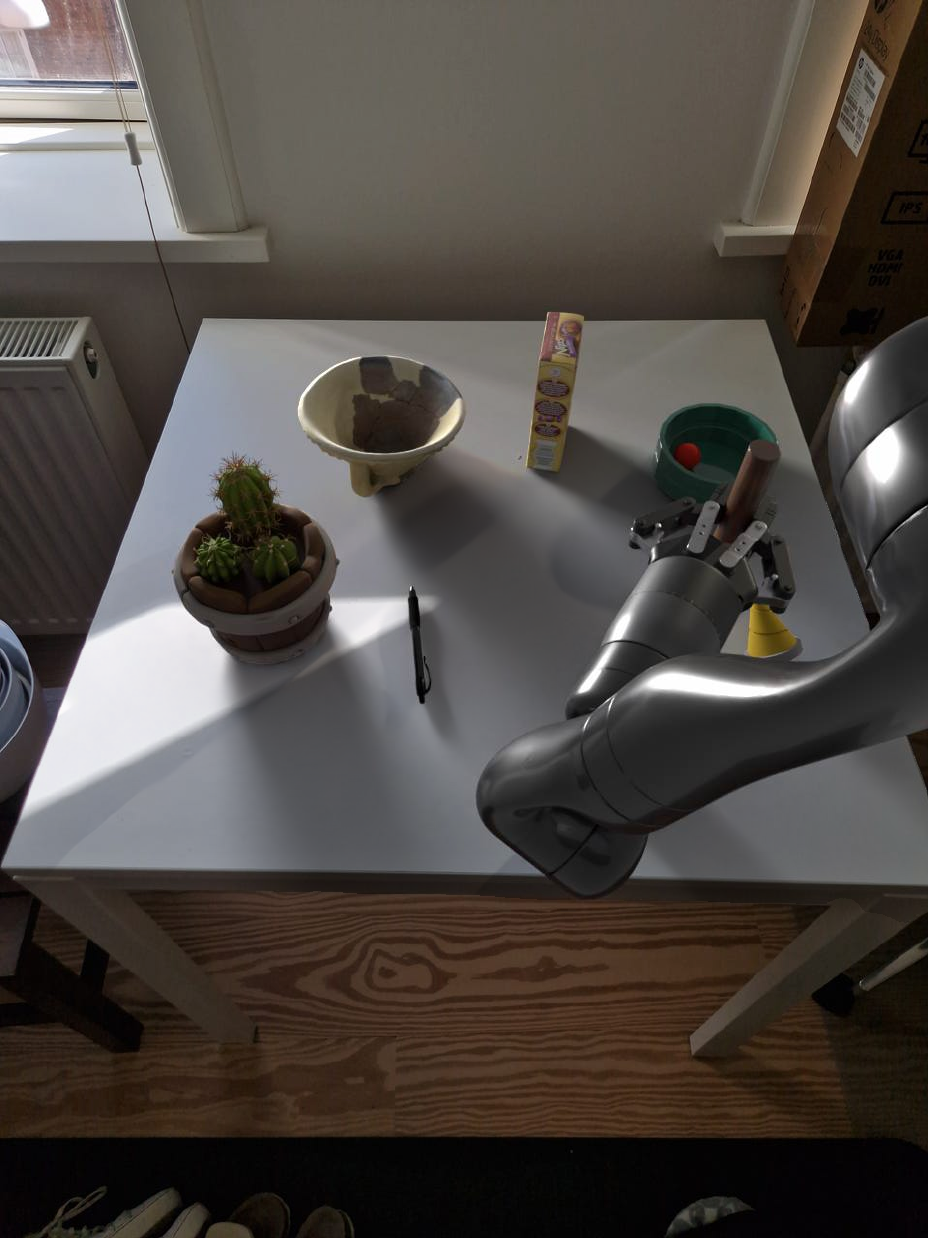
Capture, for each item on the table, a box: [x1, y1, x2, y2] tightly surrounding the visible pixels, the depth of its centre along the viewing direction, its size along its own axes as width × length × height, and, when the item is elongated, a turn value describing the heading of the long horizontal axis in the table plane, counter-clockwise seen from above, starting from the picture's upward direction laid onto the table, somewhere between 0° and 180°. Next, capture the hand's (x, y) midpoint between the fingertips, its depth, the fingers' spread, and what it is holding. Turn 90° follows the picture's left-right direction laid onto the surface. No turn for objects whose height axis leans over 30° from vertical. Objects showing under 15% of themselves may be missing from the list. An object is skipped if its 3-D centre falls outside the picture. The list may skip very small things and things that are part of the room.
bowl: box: [297, 355, 467, 499], centre depth 96 cm, size 18×18×10 cm
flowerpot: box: [171, 450, 341, 665], centre depth 78 cm, size 14×15×20 cm
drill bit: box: [743, 604, 804, 661], centre depth 82 cm, size 5×5×10 cm
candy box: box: [525, 311, 585, 473], centre depth 96 cm, size 9×4×15 cm, turn 170°
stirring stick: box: [713, 440, 782, 544], centre depth 70 cm, size 2×2×17 cm
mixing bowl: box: [651, 402, 781, 504], centre depth 97 cm, size 13×13×5 cm
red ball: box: [673, 443, 700, 469], centre depth 98 cm, size 3×3×3 cm
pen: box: [407, 585, 433, 705], centre depth 84 cm, size 14×2×1 cm, turn 6°
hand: (749, 495), depth 70 cm, fingers closed on stirring stick, 2 cm apart
